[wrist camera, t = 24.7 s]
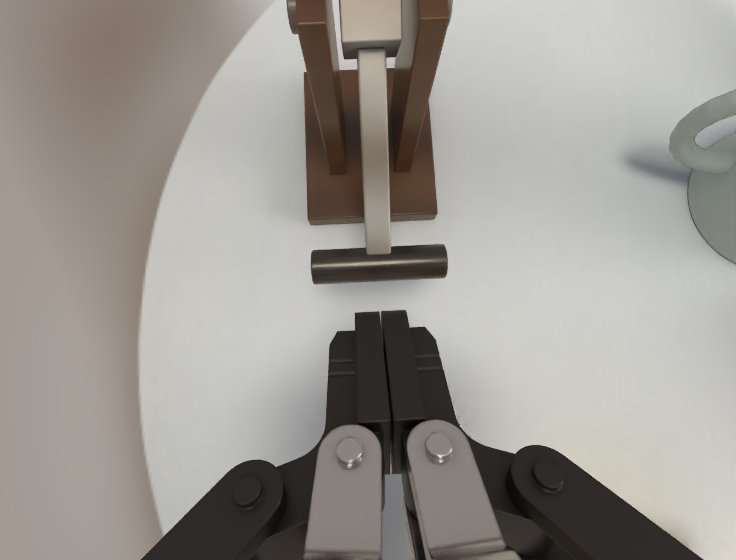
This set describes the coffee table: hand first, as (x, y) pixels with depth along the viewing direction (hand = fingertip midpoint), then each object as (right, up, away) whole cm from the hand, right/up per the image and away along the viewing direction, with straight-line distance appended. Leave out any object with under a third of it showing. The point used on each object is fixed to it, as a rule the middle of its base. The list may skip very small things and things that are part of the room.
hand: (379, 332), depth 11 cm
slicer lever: (0, +8, +6) cm, 9 cm away
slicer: (0, +10, +14) cm, 17 cm away
